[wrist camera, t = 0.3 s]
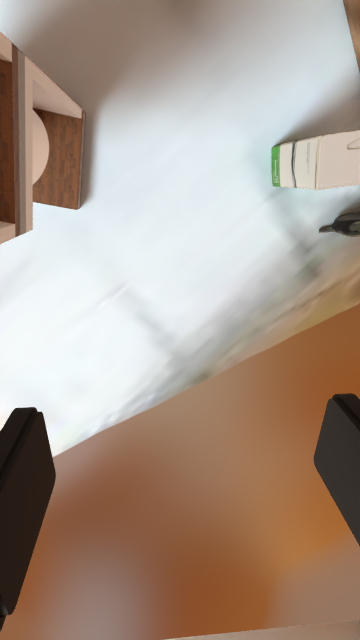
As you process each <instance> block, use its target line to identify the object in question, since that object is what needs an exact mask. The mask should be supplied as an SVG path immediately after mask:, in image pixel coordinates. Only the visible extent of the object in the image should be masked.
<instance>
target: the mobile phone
mask: <svg viewBox="0 0 360 640" xmlns="http://www.w3.org/2000/svg"><path fill="white" fill-rule="evenodd" d="M326 232H337V233H340V234H342V235H346V236H351V237H357V236H360V212H359V213H351V214H348V215H344V216H340V217H338V218H336V219H335V221H334V224H333V226H331V227H328V228H320V229H319V233H326Z"/></svg>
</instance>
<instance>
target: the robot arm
mask: <svg viewBox="0 0 360 640" xmlns="http://www.w3.org/2000/svg"><path fill="white" fill-rule="evenodd" d="M314 464H315V467H316V469H317V471H318V473H319V474H320V476H321V478H322V479H323V481H324V483H325V485H326V487H327V488H328V490H329V492H330V494H331V496H332V498H333V499H334V501H335V503H336V505H337V506H338V508H339V510H340V512H341V514H342V515H343V517H344V519H345V521H346V522H347V524H348V526H349V528H350V530H351V531H352V533H353V535H354V537H355V538H356V540H357V542H358V544H359V546H360V399H359V398H358V397H357V396H356V395H354V394H335V395H334V396H333V397H332V399H329V401H328V403H327V407H326V411H325V415H324V419H323V423H322V427H321V431H320V435H319V439H318V443H317V447H316V450H315V455H314ZM55 477H56V473H55V468H54V463H53V458H52V454H51V449H50V444H49V440H48V435H47V430H46V426H45V421H44V416H43V413H42V412H37V409H36V408H35V407H29V408H15V409H14V410H13V411H12V413H11V415H10V416H9V418H8V420H7V421H6V423H5V425H4V426H3V428H2V430H1V431H0V631H1V630H2V626H3V624H4V621H5V617H6V615H11V614H12V613H13V611H14V609H15V607H16V604H17V601H18V597H19V594H20V591H21V588H22V585H23V582H24V578H25V575H26V572H27V569H28V566H29V563H30V560H31V557H32V553H33V550H34V547H35V544H36V541H37V538H38V535H39V531H40V528H41V525H42V521H43V519H44V516H45V512H46V509H47V506H48V503H49V500H50V497H51V494H52V490H53V487H54V483H55ZM166 640H360V620H355V621H345V622H334V623H323V624H313V625H302V626H293V627H283V628H273V629H263V630H253V631H244V632H233V633H224V634H214V635H204V636H194V637H184V638H175V639H166Z"/></svg>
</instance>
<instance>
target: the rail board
mask: <svg viewBox="0 0 360 640" xmlns="http://www.w3.org/2000/svg"><path fill="white" fill-rule="evenodd" d="M343 2H344V6H345V11H346V15H347V19H348V24H349V28H350V32H351V37H352V41H353V45H354V50H355V54H356V58H357V63H358V67H359V71H360V0H343Z"/></svg>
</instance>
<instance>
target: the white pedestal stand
mask: <svg viewBox="0 0 360 640" xmlns="http://www.w3.org/2000/svg"><path fill="white" fill-rule="evenodd" d="M84 129H85V112H84V111H83V110H82V109H81V108H80V107H79V106H78V105H77V104H76V103H75V102H74V101H73V100H72V99H71V98H70V97H68V96H67V95H66V94H65V93H64V92H63V91H62V90H61V89H60V88H59V87H58V86H57V85H56V84H55V83H54V82H53V81H52V80H51V79H50V78H48V77H47V76H46V75H45V74H44V73H43V72H42V71H41V70H40V69H39V68H38V67H37V66H36V65H35V64H34V63H33V62H32V61H31V60H29V59H28V58H27V57H26V56H25V55H24V54H23V53H22V52H21V51H20V50H19V49H18V48H17V47H16V46H15V45H14V44H13V43H12V42H11V41H9V40H8V39H7V38H6V37H5V36H4V35H3V34H2V33H1V32H0V244H1V243H4V242H6V241H8V240H10V239H13V238H15V237H17V236H19V235H22V234H24V233H26V232H28V231H30V230H32V207H33V202H36V203H42V204H47V205H53V206H58V207H64V208H69V209H75V210H77V209H79V208H80V198H81V181H82V164H83V146H84Z"/></svg>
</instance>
